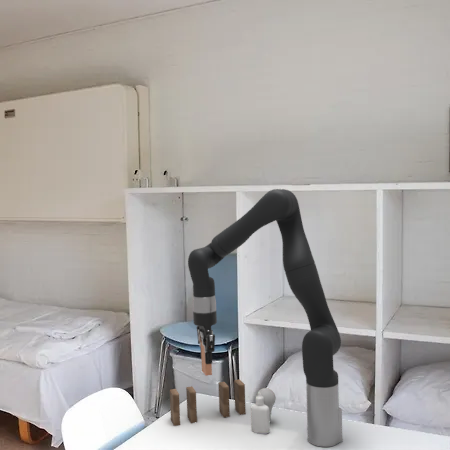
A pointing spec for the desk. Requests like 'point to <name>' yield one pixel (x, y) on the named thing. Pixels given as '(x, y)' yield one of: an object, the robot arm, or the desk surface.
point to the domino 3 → (205, 367)
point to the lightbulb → (268, 398)
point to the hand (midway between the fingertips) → (206, 360)
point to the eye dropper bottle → (260, 416)
